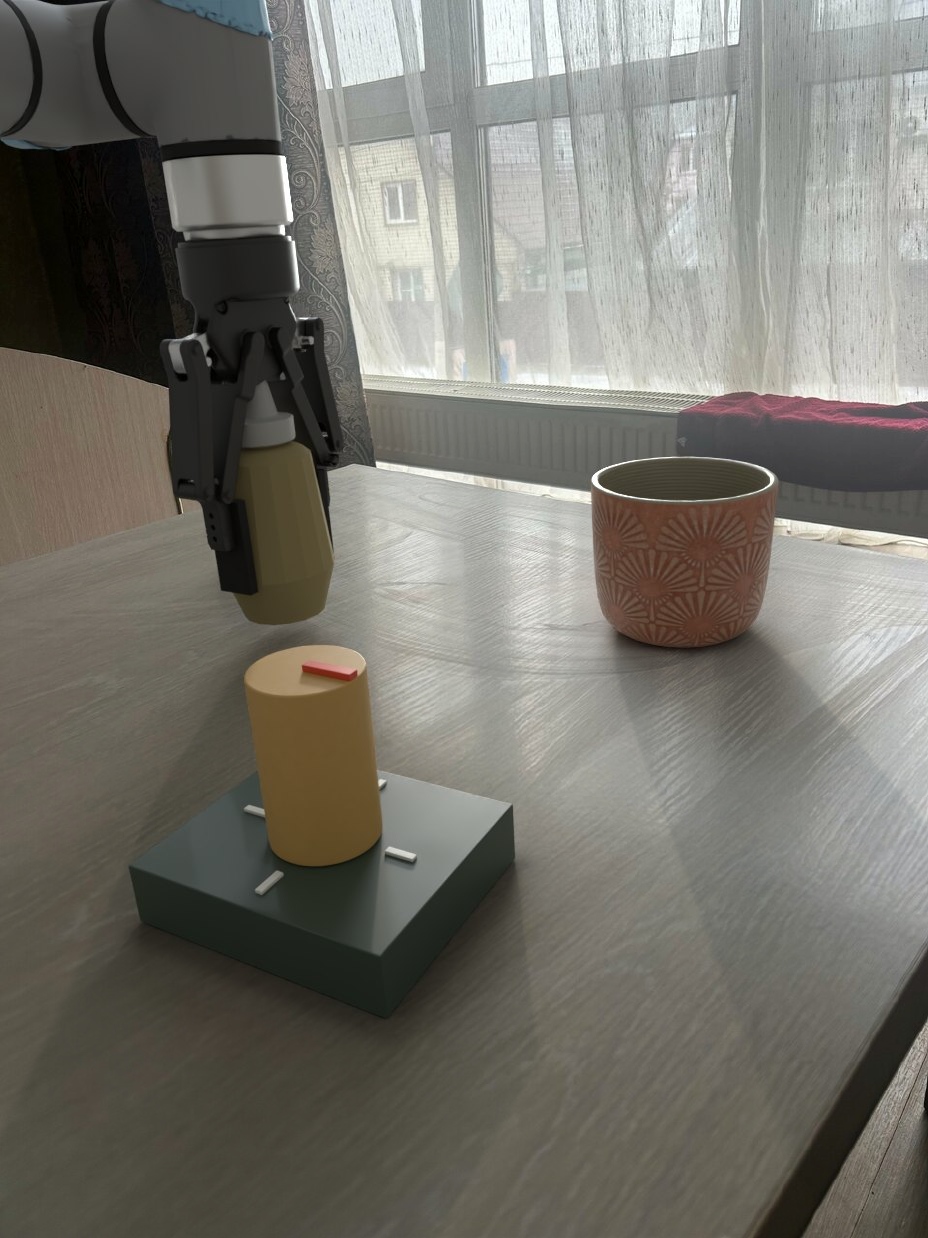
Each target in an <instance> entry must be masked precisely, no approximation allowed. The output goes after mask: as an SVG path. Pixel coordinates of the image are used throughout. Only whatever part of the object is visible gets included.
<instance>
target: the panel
mask: <svg viewBox="0 0 928 1238" xmlns="http://www.w3.org/2000/svg"><path fill="white" fill-rule="evenodd" d="M377 773H378V783H379V792H380V802H381V812H382V822H383V828H382V833H381V835H380V837H379V839H378V840H377V842H376V843H375V844H374V845H373V846H372V847H371V848H370V849H369V850H367V851H366V852H364V853H363V854H361V855H359V856H357V857H355V858H353V859H351V860H348V861H345V862H342V863H338V864H334V865H328V866H302V865H296V864H292V863H290V862H287V861H285V860H283V859H281V858H280V857H278V856H277V855H276V854H275V853H274V852H273V850H272V848H271V847H270V843H269V838H268V832H267V825H266V819H265V812H264V806H263V800H262V793H261V787H260V780H259V774H258V769H257V770H256V771H255V772H253V773H252V774H250V775H249V776H247V778H245V779H244V780H243V781H241V782H239V783H238V784H237V785H236V786H234V787H233V788H232V789H230V790H229V791H227V792H226V793H225V794H223V795H222V796H221V797H219V798H218V799H216V800H215V801H213V802H212V803H210V805H208V806H207V807H206V808H204V809H203V810H202V811H200V812H199V813H197V814H196V815H195V816H193V817H192V818H190V819H189V820H188V821H186V822H185V823H184V824H182V825H181V826H180V827H178V828H177V829H175V830H174V831H173V832H171V833H170V834H169V835H167V836H166V837H164V838H163V839H162V840H161V841H159V842H158V843H157V844H156V845H153V846H152V847H151V848H149V850H147V851H145V852H144V853H143V854H141V855H140V856H139V857H138V858H136V859H135V860H133V861H132V862H131V863H129V864H128V866H127V867H128V871H129V875H130V880H131V884H132V889H133V893H134V898H135V903H136V907H137V911H138V916H139V919H140V921H141V922H142V923H145V924H147V925H149V926H153V927H155V928H157V929H160V930H162V931H165V932H167V933H170V934H172V935H175V936H177V937H180V938H181V939H185V940H187V941H190V942H192V943H194V944H197V945H200V946H203V947H204V948H208V949H209V950H211V951H215V952H217V953H220V954H222V955H225V956H227V957H230V958H232V959H235V960H238V961H240V962H243V963H245V964H247V965H250V966H252V967H255V968H258V969H261V970H262V971H264V972H265V971H266V972H267V973H270V974H273V975H275V976H278V977H280V978H282V979H285V980H288V981H291V982H293V983H295V984H298V985H300V986H303V987H306V988H307V989H310V990H313V991H315V992H318V993H321V994H323V995H325V996H328V997H331V998H333V999H336V1000H339V1001H341V1002H343V1003H345V1004H349V1005H350V1006H353V1007H356V1008H358V1009H361V1010H363V1011H365V1012H368V1013H371V1014H373V1015H375V1016H379V1017H381V1018H384V1019H388V1018H389V1017H390V1016H391V1015H392V1013H393V1012H394V1011H395V1010H396V1008H397V1007H398V1006H399V1005H400V1003H401V1002H402V1001H403V999H404V998H405V997H406V996H407V995H408V993H409V992H410V991H411V990H412V988H414V986H415V984H416V983H417V982H418V981H419V980H420V978H421V977H422V976H423V974H424V973H425V972H426V971H427V969H428V968H429V967H430V966H431V964H432V963H433V962H434V961H435V959H436V958H437V957H438V956H439V954H440V953H441V952H442V951H443V949H444V948H445V947H446V946H447V944H448V943H449V942H450V940H451V939H452V938H453V937H454V935H455V934H456V933H457V932H458V930H459V929H460V928H461V927H462V925H463V924H464V923H465V922H466V920H467V919H469V917H470V916H471V914H472V913H473V912H474V910H475V909H476V908H477V907H478V906H479V905H480V904H481V902H482V901H483V899H484V898H485V897H486V896H487V894H488V893H489V892H490V891H491V889H492V888H493V887H494V886H495V884H496V883H497V882H498V880H500V878H501V877H502V876H503V874H505V872H506V870H507V869H508V868H509V866H510V865H511V864H512V863H513V862H514V861H515V859H516V848H515V847H516V844H515V822H514V821H515V820H514V804H513V803H510V802H505V801H503V800H502V801H501V800H497V799H493V798H491V797H490V798H489V797H486V796H481V795H479V794H478V795H477V794H474V793H471V792H466V791H462V790H459V789H455V788H450V787H446V786H443V785H438V784H435V783H431V782H427V781H422V780H419V779H415V778H412V777H407V776H403V775H399V774H395V773H391V772H387V771H383V770H380V769H377Z"/></svg>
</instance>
